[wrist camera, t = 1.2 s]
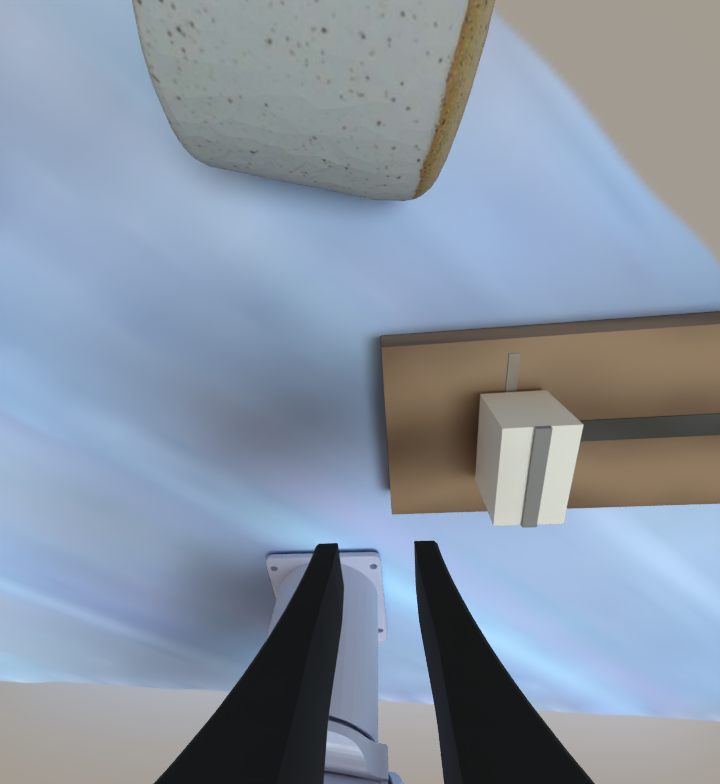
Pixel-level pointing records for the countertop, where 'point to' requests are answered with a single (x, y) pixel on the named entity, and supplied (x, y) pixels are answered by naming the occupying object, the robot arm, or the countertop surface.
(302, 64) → the ceramic mug
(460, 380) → the fader console
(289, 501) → the countertop surface
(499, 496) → the fader knob
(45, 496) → the countertop surface
